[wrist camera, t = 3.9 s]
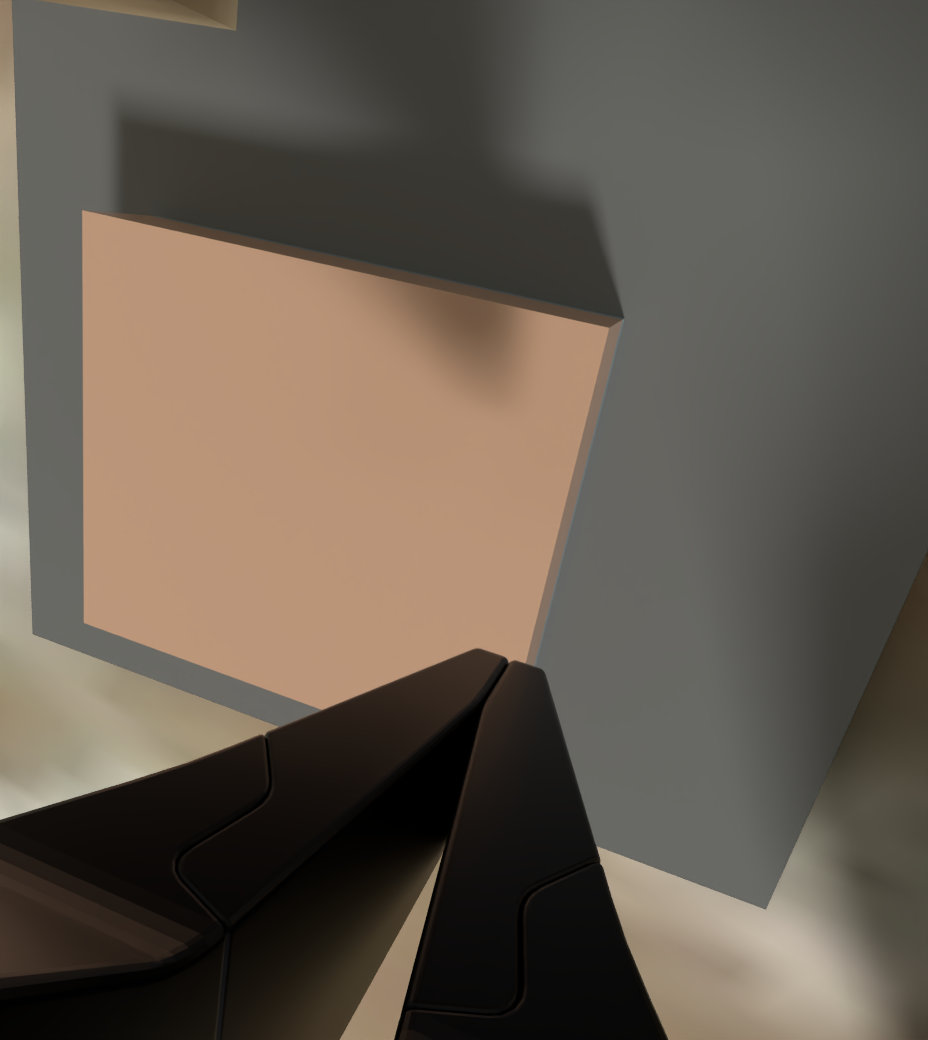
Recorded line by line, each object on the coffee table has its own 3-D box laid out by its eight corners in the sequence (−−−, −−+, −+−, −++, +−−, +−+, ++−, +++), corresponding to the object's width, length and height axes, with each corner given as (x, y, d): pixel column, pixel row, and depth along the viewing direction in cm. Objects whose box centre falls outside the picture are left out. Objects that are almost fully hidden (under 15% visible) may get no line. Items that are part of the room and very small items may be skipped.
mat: (764, 894, 16) (766, 909, 15) (45, 627, 20) (33, 633, 19) (1263, -225, 9) (1287, -245, 9) (21, -290, 13) (1, -307, 12)
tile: (497, 774, 14) (84, 622, 16) (523, 714, 16) (149, 585, 17) (608, 327, 11) (82, 209, 13) (624, 318, 13) (161, 216, 15)
